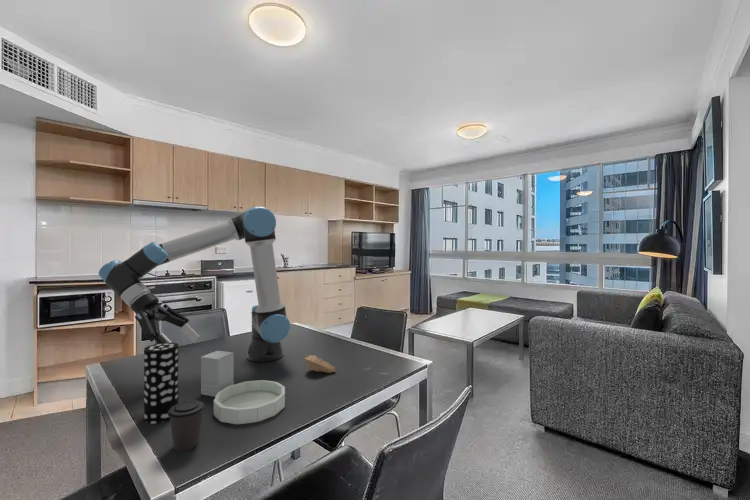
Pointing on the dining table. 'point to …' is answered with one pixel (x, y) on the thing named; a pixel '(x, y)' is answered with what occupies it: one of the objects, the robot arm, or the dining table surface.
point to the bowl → (249, 401)
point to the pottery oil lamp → (318, 364)
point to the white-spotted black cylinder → (160, 381)
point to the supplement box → (216, 372)
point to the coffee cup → (186, 424)
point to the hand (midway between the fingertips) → (185, 344)
